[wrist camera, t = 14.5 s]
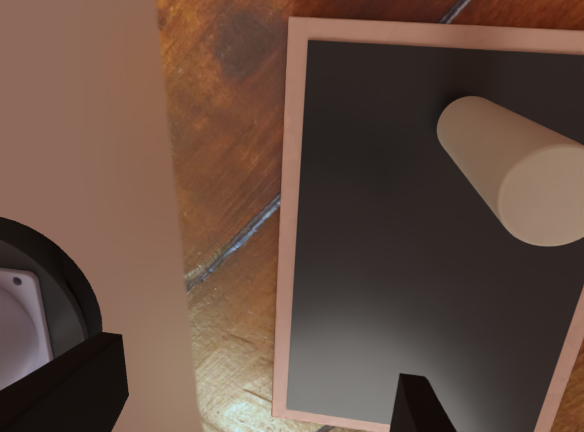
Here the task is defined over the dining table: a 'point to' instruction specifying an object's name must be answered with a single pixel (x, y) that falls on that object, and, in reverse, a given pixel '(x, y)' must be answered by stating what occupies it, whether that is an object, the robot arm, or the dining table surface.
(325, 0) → the dining table surface
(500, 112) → the stylus
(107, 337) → the robot arm
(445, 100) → the tablet
